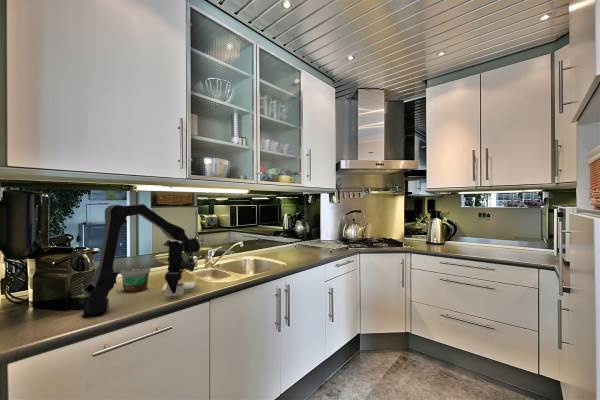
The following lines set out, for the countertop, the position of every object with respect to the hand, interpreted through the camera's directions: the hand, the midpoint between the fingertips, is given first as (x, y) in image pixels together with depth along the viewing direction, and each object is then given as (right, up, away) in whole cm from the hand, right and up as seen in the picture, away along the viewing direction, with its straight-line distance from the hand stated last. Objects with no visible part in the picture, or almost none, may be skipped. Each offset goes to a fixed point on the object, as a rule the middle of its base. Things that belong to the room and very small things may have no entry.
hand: (174, 290), depth 122 cm
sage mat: (-2, -2, +10) cm, 10 cm away
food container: (-20, -2, +3) cm, 20 cm away
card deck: (0, -2, 0) cm, 2 cm away
